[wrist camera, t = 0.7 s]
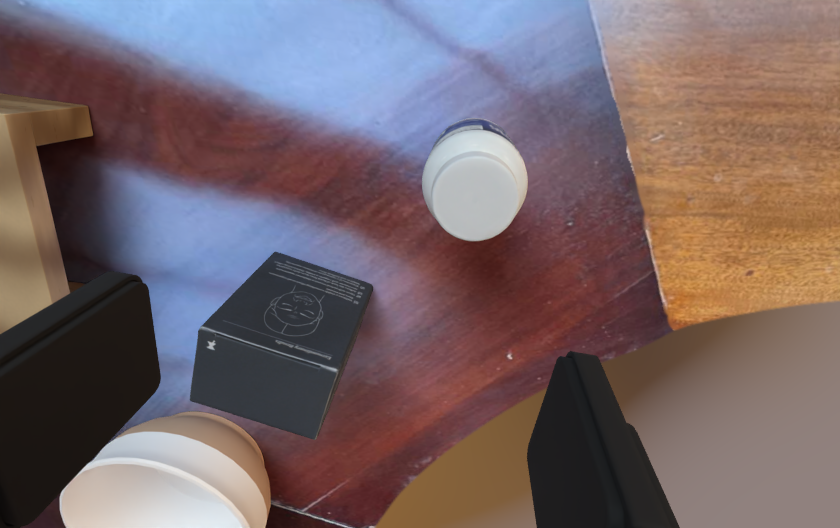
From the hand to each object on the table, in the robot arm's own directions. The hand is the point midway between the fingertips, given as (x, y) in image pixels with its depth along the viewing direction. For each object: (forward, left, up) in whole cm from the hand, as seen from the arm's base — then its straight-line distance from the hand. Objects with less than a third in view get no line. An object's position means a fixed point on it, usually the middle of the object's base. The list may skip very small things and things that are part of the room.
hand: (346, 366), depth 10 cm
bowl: (+30, -17, -21) cm, 41 cm away
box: (+11, -7, -21) cm, 25 cm away
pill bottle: (-1, +3, -22) cm, 22 cm away
